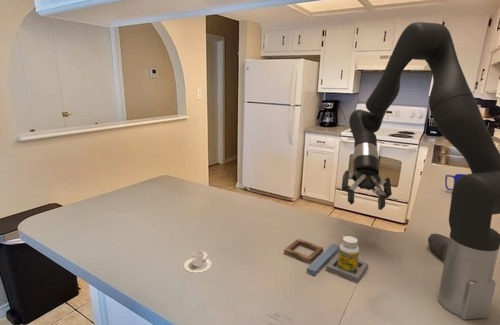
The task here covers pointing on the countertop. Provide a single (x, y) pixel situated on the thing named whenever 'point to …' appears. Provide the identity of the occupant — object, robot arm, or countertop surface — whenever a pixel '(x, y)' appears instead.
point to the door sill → (323, 259)
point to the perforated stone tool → (438, 244)
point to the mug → (454, 179)
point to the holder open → (345, 274)
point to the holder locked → (299, 256)
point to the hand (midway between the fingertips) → (366, 206)
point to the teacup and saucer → (198, 261)
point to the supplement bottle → (348, 254)
